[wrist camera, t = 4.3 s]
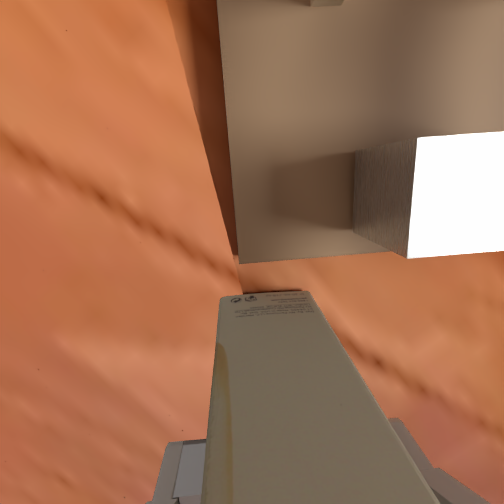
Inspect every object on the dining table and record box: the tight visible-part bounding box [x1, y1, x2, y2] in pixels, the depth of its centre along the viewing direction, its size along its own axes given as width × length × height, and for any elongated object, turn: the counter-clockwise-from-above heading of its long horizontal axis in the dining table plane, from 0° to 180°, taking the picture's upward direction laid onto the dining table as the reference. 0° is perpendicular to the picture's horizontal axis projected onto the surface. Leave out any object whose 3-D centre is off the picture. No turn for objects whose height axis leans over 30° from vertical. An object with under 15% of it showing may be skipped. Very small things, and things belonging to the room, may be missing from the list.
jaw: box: [353, 132, 504, 259], centre depth 9 cm, size 5×3×4 cm, turn 94°
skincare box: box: [201, 291, 440, 504], centre depth 8 cm, size 6×4×12 cm
